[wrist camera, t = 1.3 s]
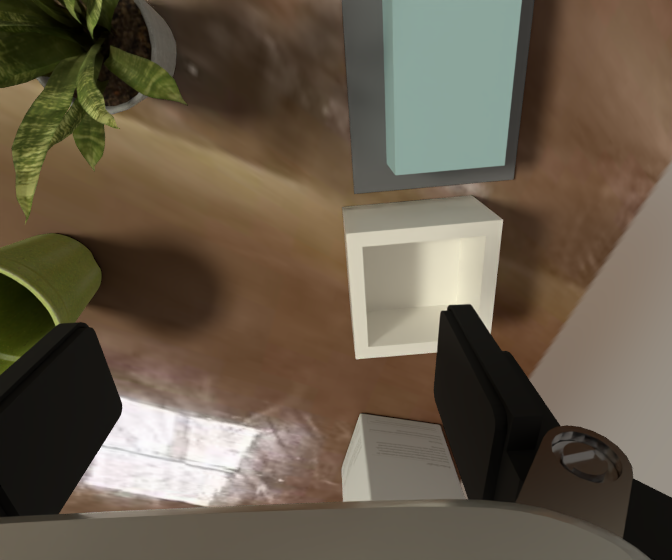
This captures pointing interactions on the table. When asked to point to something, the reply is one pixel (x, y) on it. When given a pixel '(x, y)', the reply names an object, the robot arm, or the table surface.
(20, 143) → the house plant
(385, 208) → the white open-top box
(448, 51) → the teal rectangular block
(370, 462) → the supplement box
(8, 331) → the plant pot
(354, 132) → the mat
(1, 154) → the table surface
